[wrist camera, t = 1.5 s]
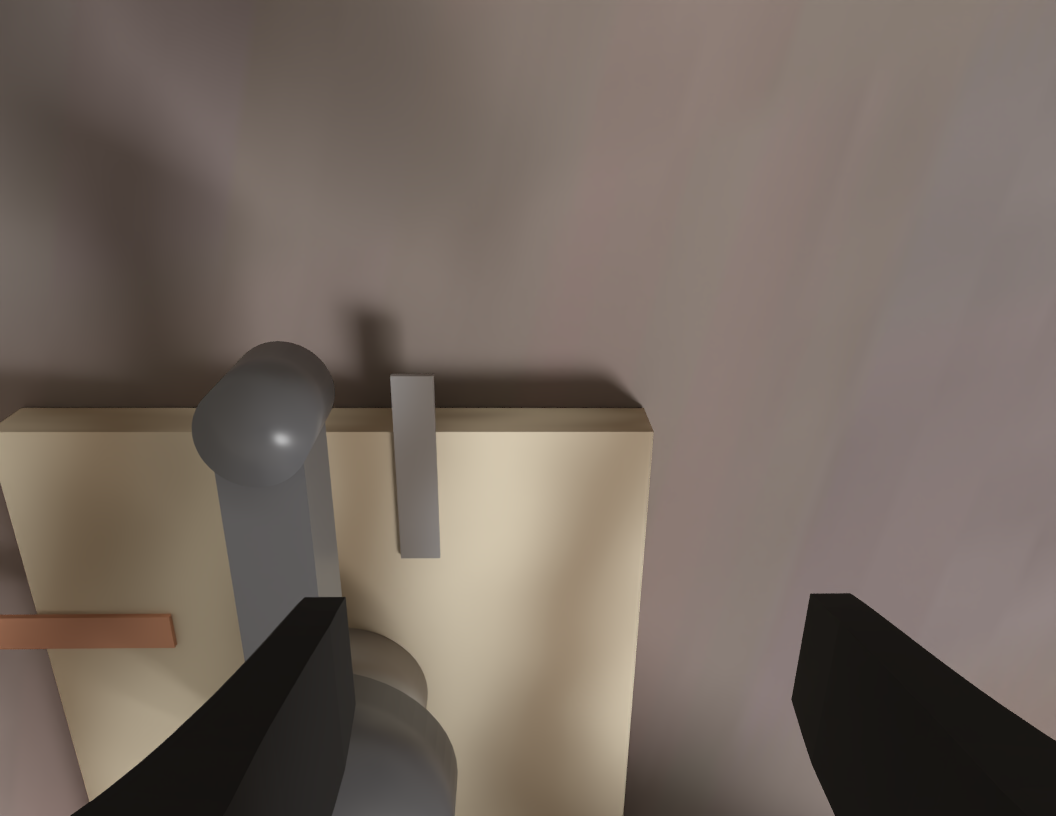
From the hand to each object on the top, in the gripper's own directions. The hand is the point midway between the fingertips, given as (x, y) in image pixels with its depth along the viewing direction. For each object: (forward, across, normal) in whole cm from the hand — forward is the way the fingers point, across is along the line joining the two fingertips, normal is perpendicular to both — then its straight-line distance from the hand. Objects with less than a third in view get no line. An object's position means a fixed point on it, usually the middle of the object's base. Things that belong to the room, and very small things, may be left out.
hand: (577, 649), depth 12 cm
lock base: (+9, +6, +7) cm, 13 cm away
